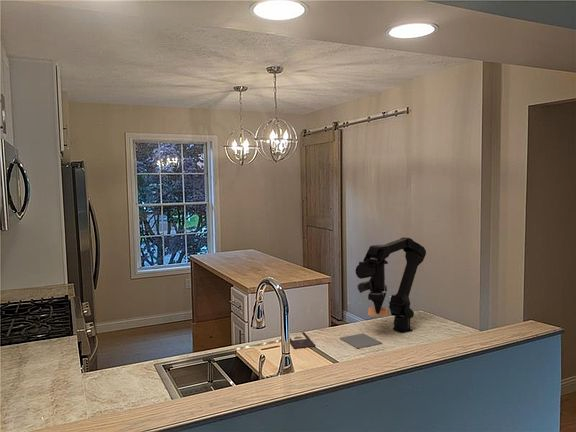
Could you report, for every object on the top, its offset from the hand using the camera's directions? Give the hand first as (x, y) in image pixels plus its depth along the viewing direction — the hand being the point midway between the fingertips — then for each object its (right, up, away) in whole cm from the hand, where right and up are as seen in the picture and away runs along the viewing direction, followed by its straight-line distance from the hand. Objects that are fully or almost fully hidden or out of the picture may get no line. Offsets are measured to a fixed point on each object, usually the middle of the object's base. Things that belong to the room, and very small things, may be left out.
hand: (378, 311), depth 190 cm
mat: (-8, -12, -3) cm, 14 cm away
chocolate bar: (-33, -13, 0) cm, 36 cm away
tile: (0, -1, 0) cm, 1 cm away
